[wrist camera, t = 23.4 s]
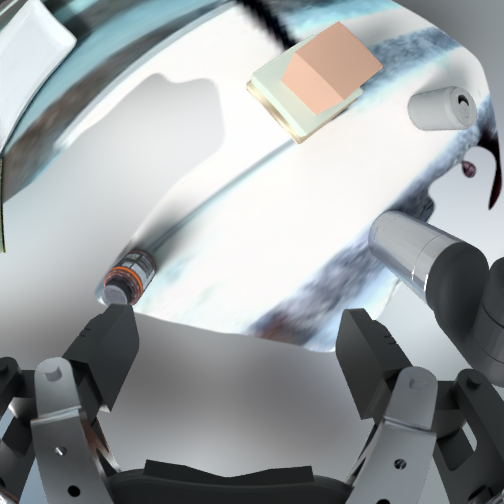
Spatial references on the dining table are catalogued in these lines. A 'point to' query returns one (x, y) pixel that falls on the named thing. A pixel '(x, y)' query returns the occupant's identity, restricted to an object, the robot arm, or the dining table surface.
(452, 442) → the robot arm
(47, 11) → the square plate
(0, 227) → the hardcover book
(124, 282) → the supplement bottle
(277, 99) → the sage top block
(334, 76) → the terracotta pillar block
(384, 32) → the dining table surface
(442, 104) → the beverage can
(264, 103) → the birch base block
